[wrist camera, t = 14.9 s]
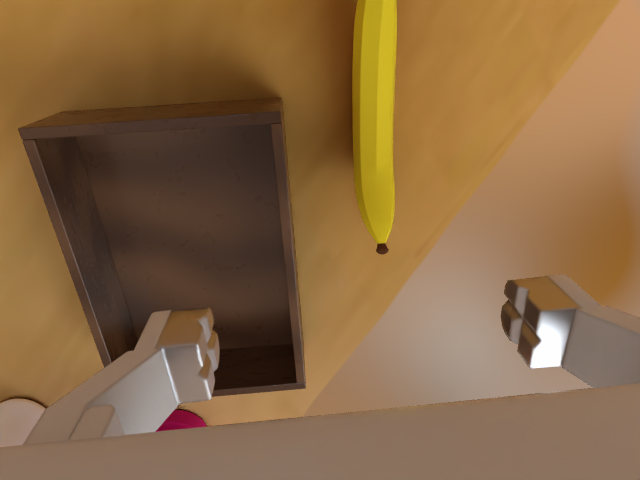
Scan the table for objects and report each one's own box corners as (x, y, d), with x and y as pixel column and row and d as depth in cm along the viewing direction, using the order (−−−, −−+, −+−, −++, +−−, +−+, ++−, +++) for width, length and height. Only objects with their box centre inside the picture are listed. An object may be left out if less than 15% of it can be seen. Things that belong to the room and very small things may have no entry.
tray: (61, 111, 30) (17, 128, 25) (282, 97, 31) (280, 111, 26) (138, 358, 40) (117, 405, 35) (303, 344, 41) (305, 388, 36)
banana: (393, -63, 27) (420, -86, 21) (386, 217, 35) (404, 254, 30) (346, -61, 27) (362, -84, 21) (350, 220, 35) (362, 257, 30)
